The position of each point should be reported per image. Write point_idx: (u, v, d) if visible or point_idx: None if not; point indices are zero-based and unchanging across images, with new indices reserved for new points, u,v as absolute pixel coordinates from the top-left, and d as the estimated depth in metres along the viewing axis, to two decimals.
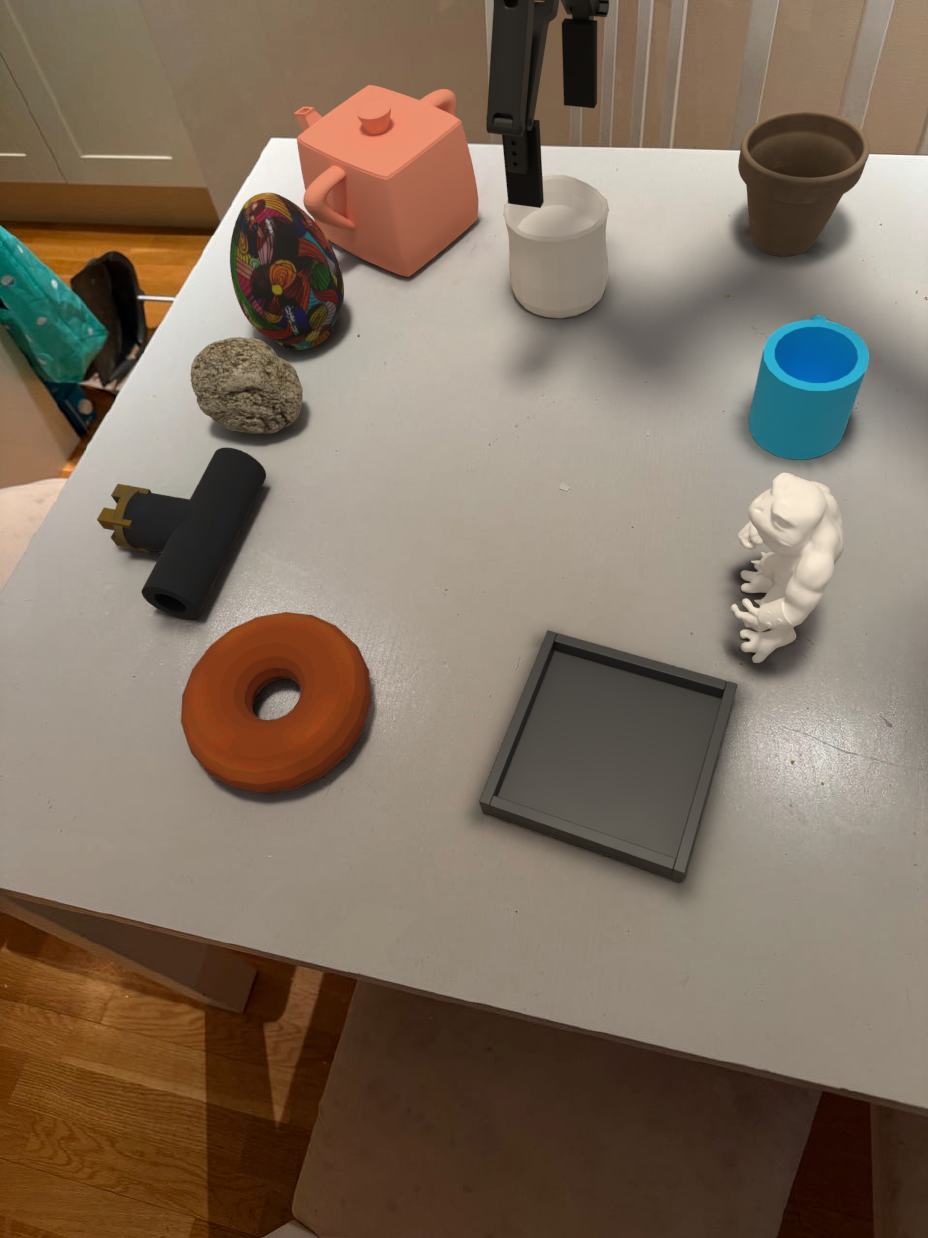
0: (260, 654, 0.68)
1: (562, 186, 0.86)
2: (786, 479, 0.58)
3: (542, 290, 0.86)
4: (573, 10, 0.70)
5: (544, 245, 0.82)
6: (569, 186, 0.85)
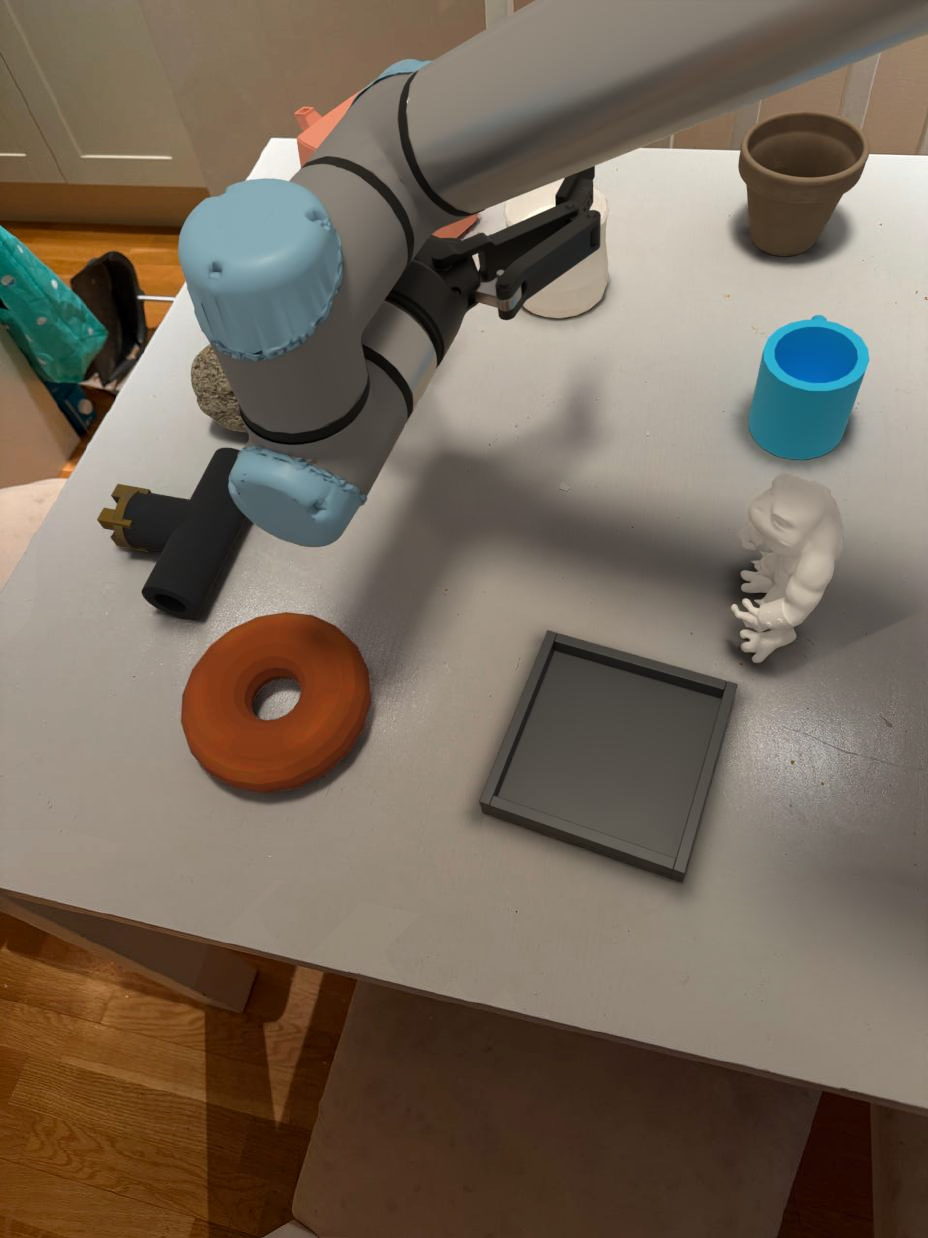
0: (260, 654, 0.68)
1: None
2: (786, 479, 0.58)
3: (542, 290, 0.86)
4: None
5: None
6: None
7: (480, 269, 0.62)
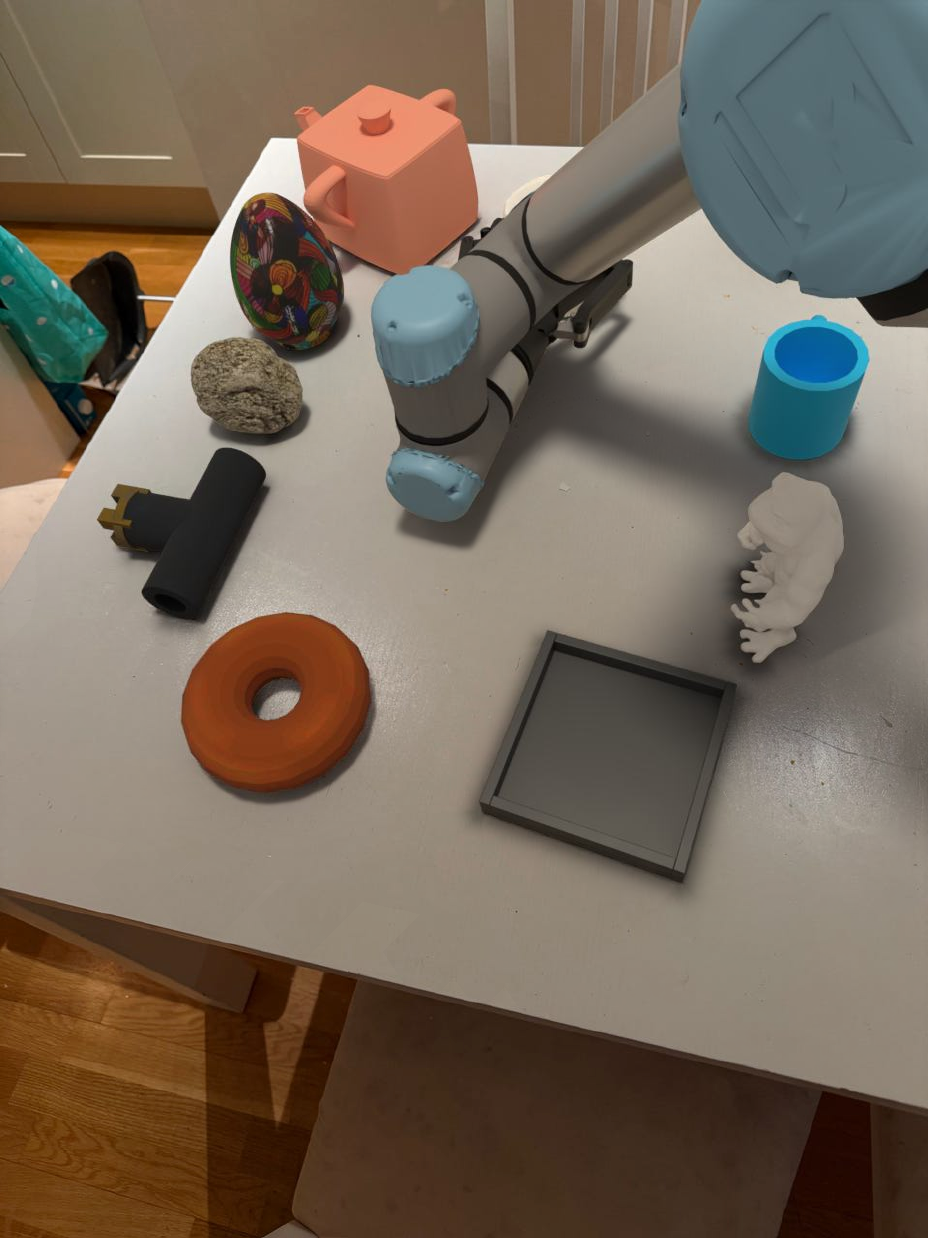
0: (260, 654, 0.68)
1: None
2: (786, 479, 0.58)
3: None
4: None
5: None
6: None
7: None
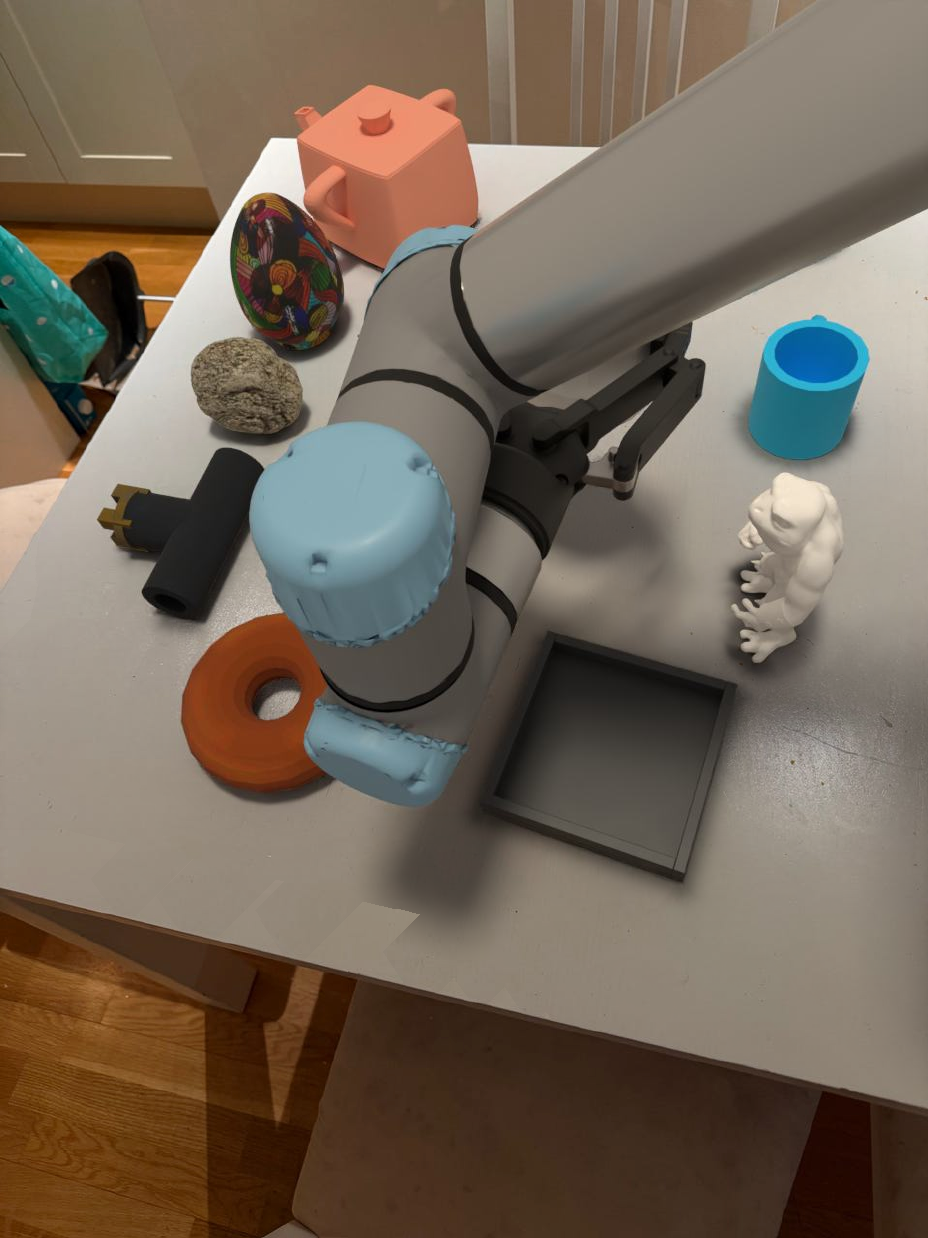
0: (260, 654, 0.68)
1: None
2: (786, 479, 0.58)
3: (563, 396, 0.57)
4: None
5: None
6: None
7: None
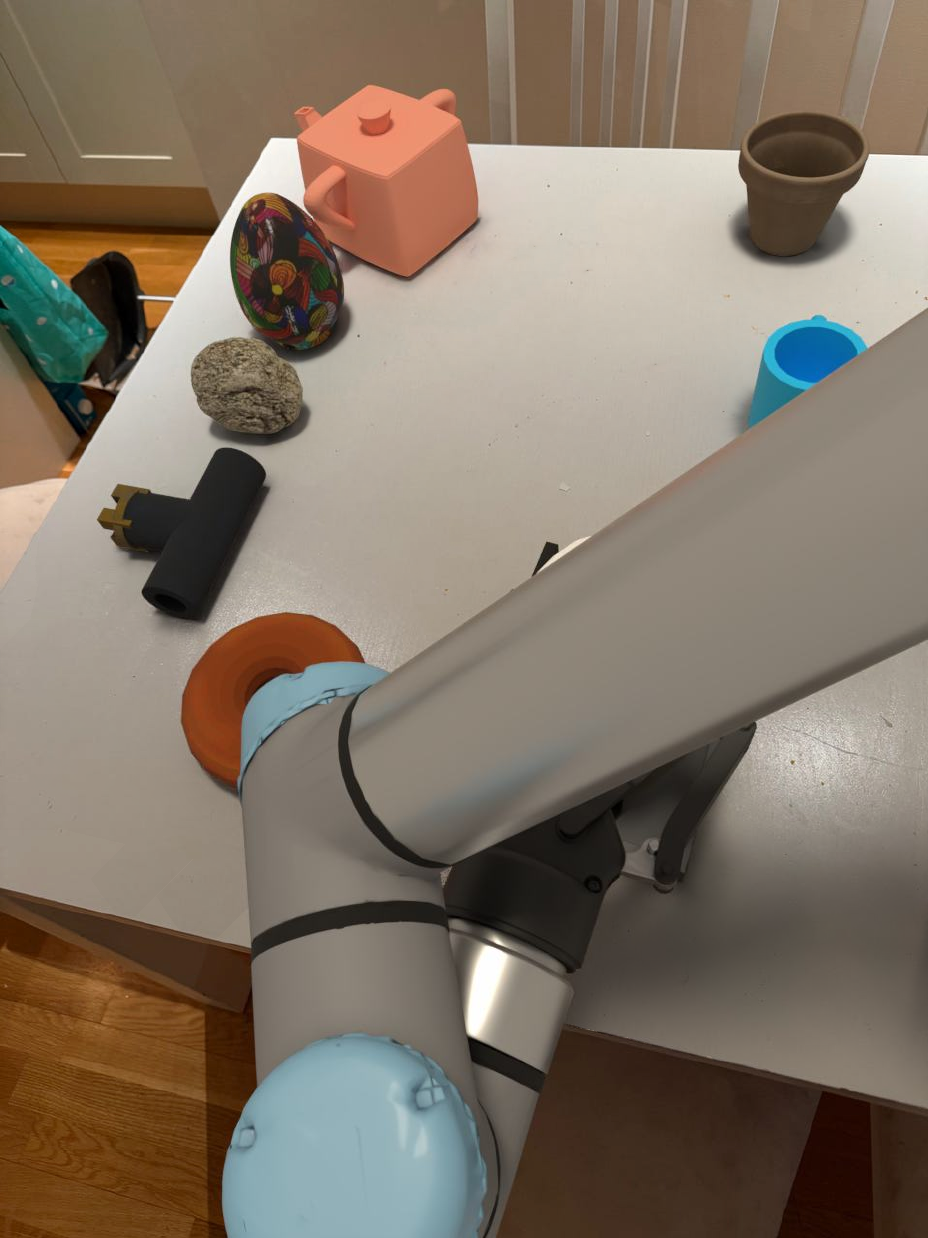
0: (260, 654, 0.68)
1: None
2: None
3: None
4: None
5: None
6: None
7: None
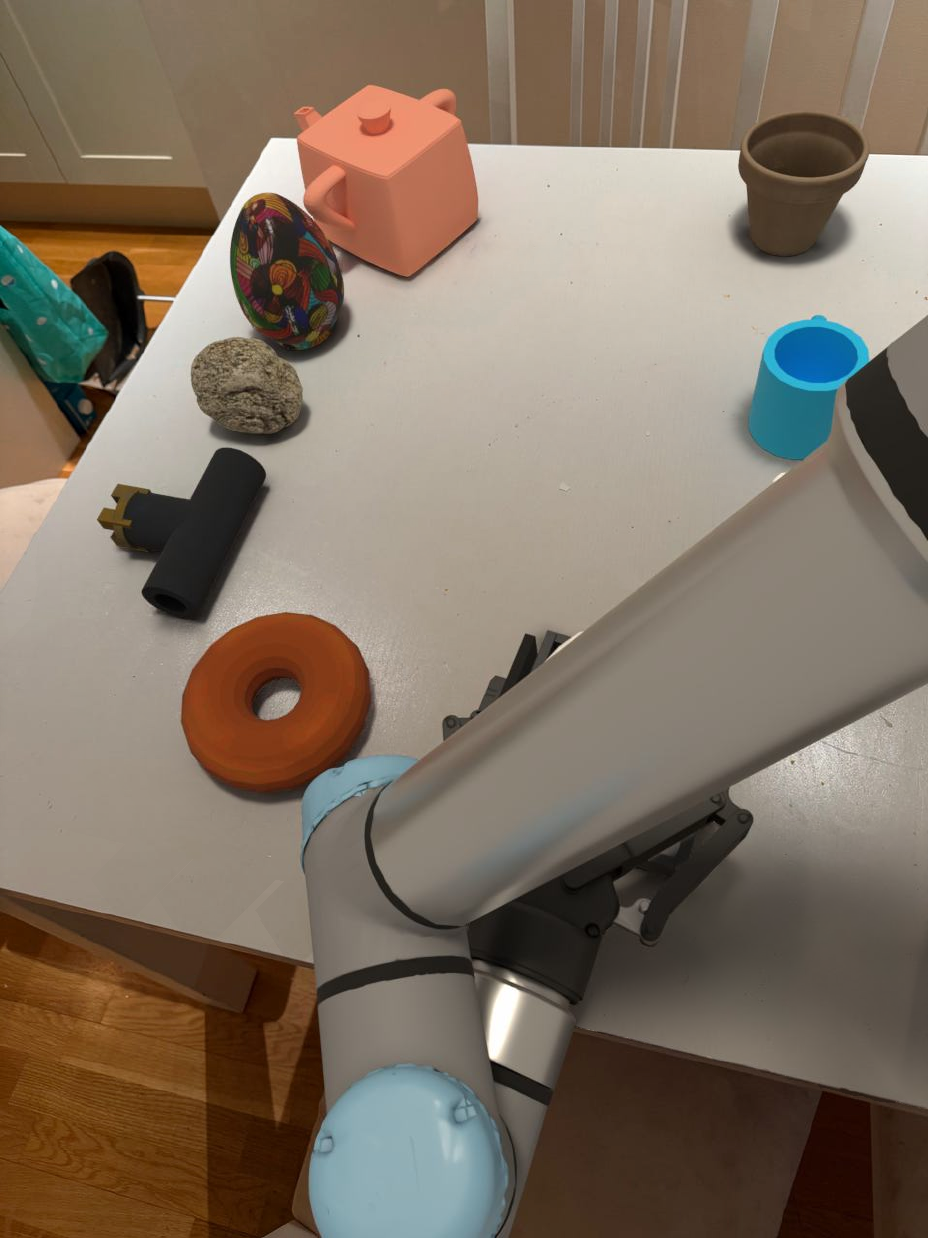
0: (260, 654, 0.68)
1: None
2: None
3: None
4: None
5: None
6: None
7: None
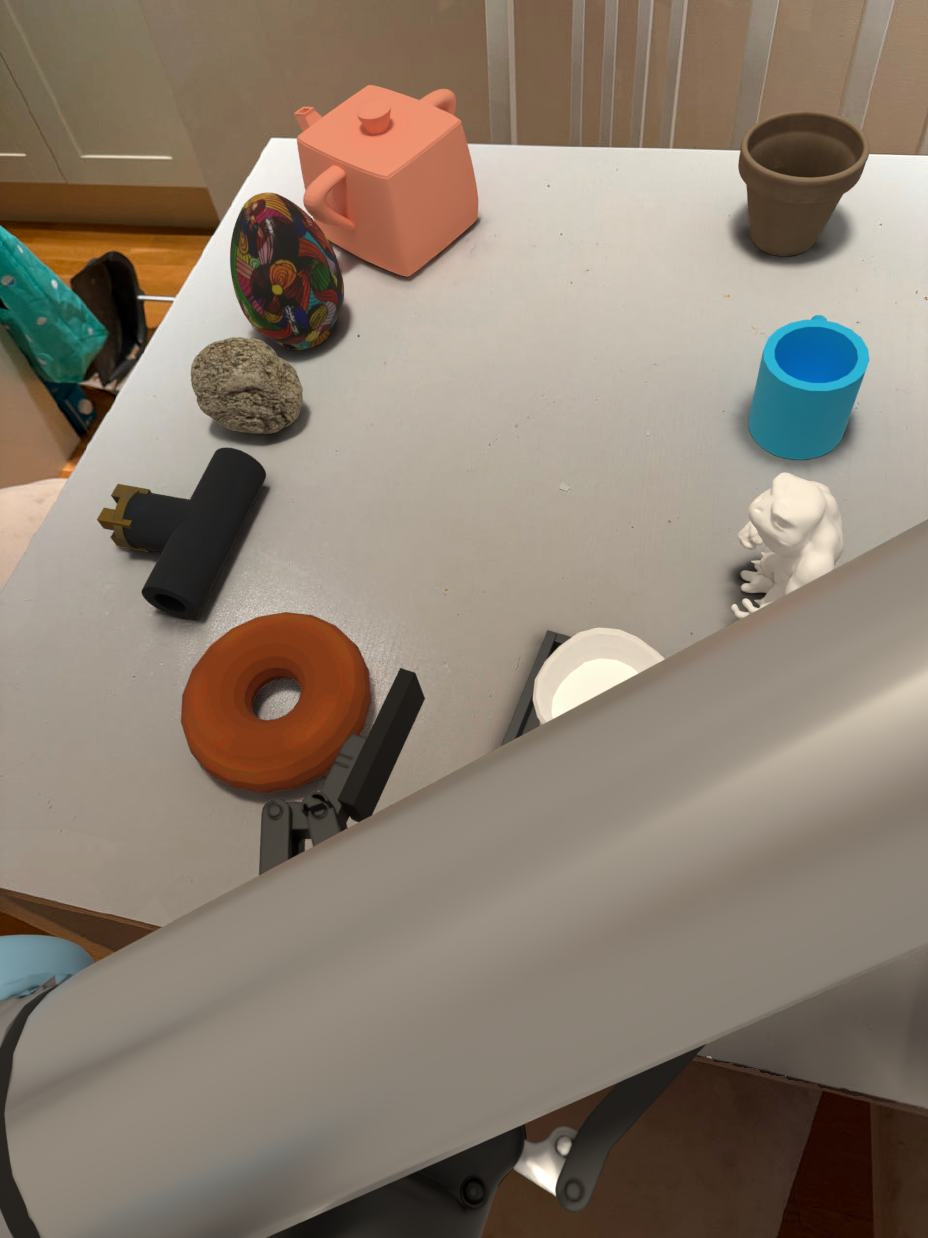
0: (260, 654, 0.68)
1: (617, 643, 0.59)
2: (786, 479, 0.58)
3: None
4: (342, 828, 0.38)
5: None
6: (628, 645, 0.59)
7: None
